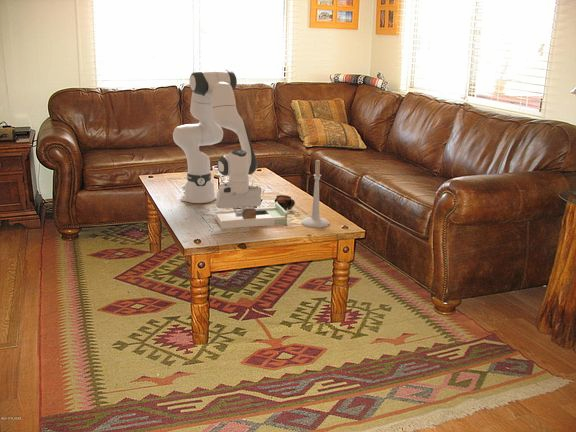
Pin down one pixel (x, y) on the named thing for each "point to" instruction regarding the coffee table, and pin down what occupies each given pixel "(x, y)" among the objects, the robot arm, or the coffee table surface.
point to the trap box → (262, 218)
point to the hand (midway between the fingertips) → (238, 216)
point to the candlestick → (315, 204)
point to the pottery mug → (285, 201)
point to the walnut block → (249, 213)
